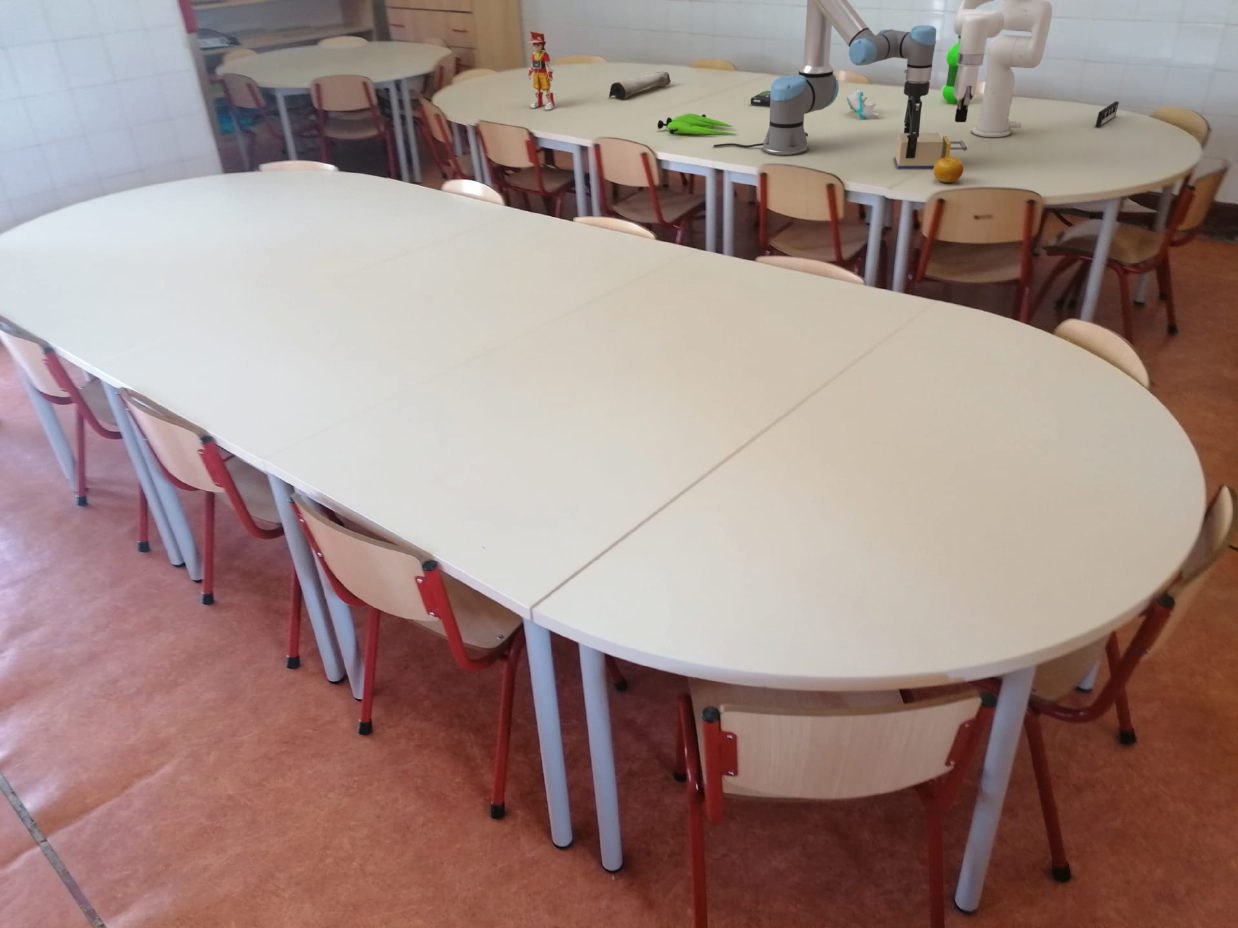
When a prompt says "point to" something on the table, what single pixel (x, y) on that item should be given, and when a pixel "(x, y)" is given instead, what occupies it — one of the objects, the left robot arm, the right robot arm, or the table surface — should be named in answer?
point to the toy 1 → (541, 71)
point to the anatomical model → (861, 105)
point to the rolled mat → (638, 84)
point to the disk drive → (761, 99)
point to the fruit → (948, 169)
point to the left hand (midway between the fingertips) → (908, 153)
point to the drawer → (947, 147)
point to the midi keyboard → (1107, 113)
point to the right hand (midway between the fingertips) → (960, 121)
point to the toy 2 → (692, 125)
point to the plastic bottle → (951, 73)
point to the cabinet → (919, 151)
